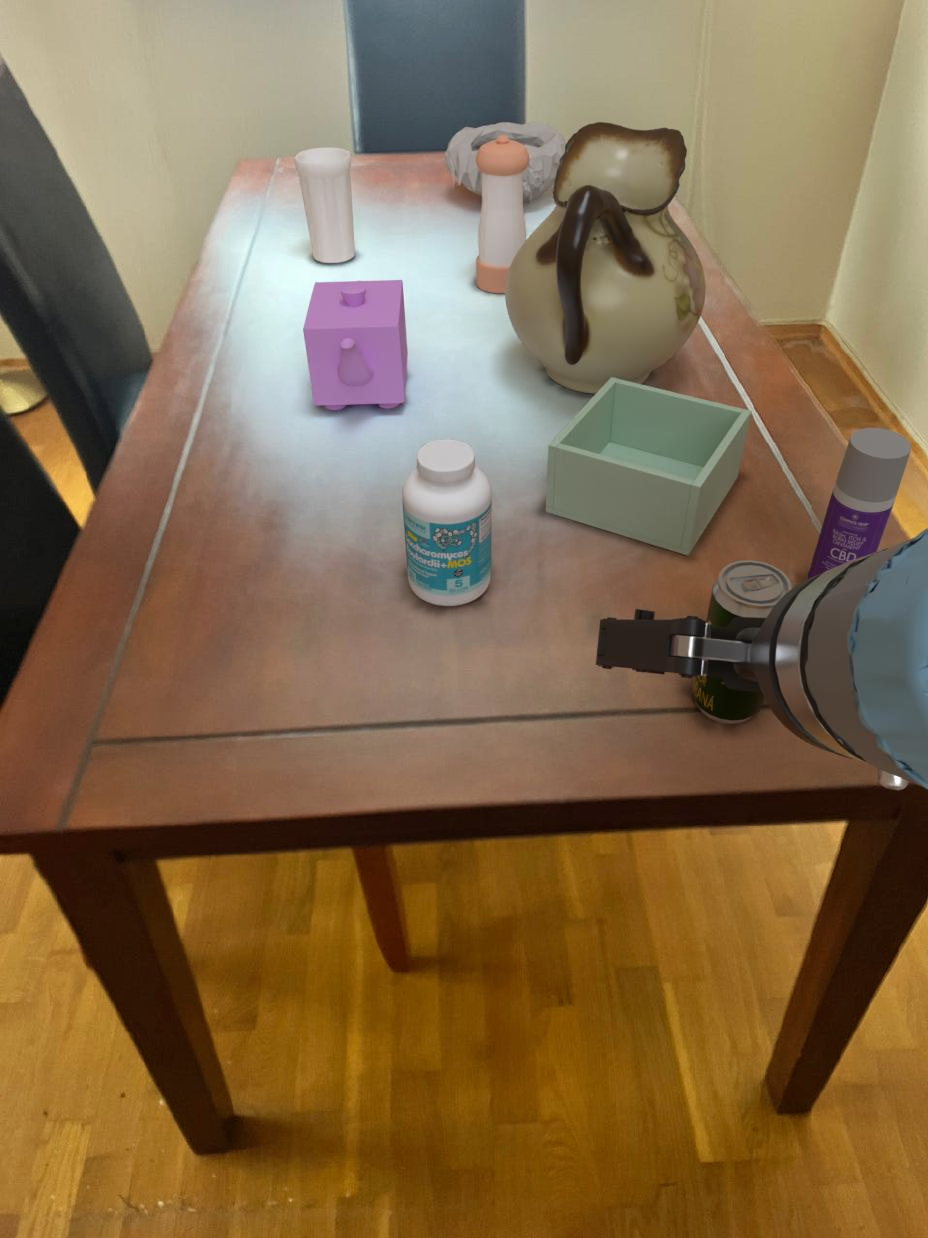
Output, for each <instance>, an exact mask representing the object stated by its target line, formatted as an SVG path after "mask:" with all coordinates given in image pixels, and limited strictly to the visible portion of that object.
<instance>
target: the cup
mask: <svg viewBox="0 0 928 1238" xmlns="http://www.w3.org/2000/svg"><path fill="white" fill-rule="evenodd" d="M293 162H294V166H295V170H296V171H297V175H298V180H299V185H300V190H301V197H302V202H303V205H304V206H303V208H304V212H305V218H306V223H307V224H306V225H307V229H308V234H309V240H310V246H311V250H312V256H313V258H314V260H316V261H318V262H320V263H326V264H336V263H337V264H338V263H342V262H343V263H344V262H347V261H349V260H352V259H353V258H354V257H355V255H356V248H355V231H354V230H355V229H354V228H355V227H354V209H353V191H352V175H351V167H352V153H351V152H350V151H348V150H347V149H344V148H341V147H333V146H331V147H329V146H328V147H327V146H326V147H314V148H307V149H305V150H302V151H299V152H298V153H297V154H295V156H294V159H293Z"/></svg>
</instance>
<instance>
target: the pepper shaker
mask: <svg viewBox="0 0 928 1238" xmlns="http://www.w3.org/2000/svg"><path fill="white" fill-rule="evenodd" d="M529 161H530V158H529V153H528V151H527V149H526V147H525V146H524V145H523V144H521V143H519V142H516V141H514V140H509V138H508V137H507V136H506V135H500V136H498V137H497V139H496V140H493V141H490V142H488V143H486V144H484V145H482V146H481V147H480V148H479V150H478V152H477V155H476V164H477V167H478V169H479V170H480V171H481V172H482V197H481V209H480V214H479V224H478V230H477V243H478V244H477V245H478V255H477V257H476V258H475V274H476V275H475V276H476V278H475V279H476V280H475V281H476V282H475V283H476V287H478V289H480V290H482V291H484V292H486V293H487V292H488V293H492V294H505V283H506V277H507V273H508V270H509V268H510V265H511V263H512V261H513V259H514V257H515V255H516V254H517V252H518V250H519V249H520V247H521V246H522V245H523V243H524V242H525V241H526V240H527V227H526V220H525V218H526V217H525V211H524V202H523V171H524V170H525V169H526V168H527V166H528V164H529Z"/></svg>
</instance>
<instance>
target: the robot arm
mask: <svg viewBox="0 0 928 1238" xmlns="http://www.w3.org/2000/svg"><path fill="white" fill-rule="evenodd" d="M655 615H656V611H653V610H647V609H640V608H635V609H634V616H633V617H634V618H633V619H626V618H625V619H622V618H621V619H619V618H618V619H617V618H616V617H609V616H607V617H606V618H601V619H599V628H598V636H597V637H598V639H597V647H596V648H597V649H596V657H595V666H597V667H598V668H599V667H600V668H601V669H605V670H612V669H614V668H623V669H631V670H632V671H635V672H636V673H644V674H645V673H648V674H656V675H666V673H671V674H678V675H679V676H680V678H684V679H694V677H697V675H698V676H710V677H719V678H722V679H723V681H724V683H725V686H726V687H727V688H728V689H731V690H740V691H748V692H757V693H762V694H763V696H764V701H765V702H766V704H767V706H768V707H769V709H770V710H771V712H772V713H773V715H774V716H775V717H776V719H777V720H778V721H779V722H780V723H781V724H782V725H783V727H785V728H786V729H787V730H788V731H789V732H790V733H792V734H793V735H795V736H796V738H799V739H800V740H802V741H803V742H805V743H807V744H809V745H811V746H812V747H813V746H814V747H816V748H818V749H821V750H823V751H826V752H829V753H831V754H834V755H837V756H839V757H844V758H847V759H850V760H856V761H859V762H861V763H865V764H867V765H870V766H872V767H875V768H876V769H877V780H878V783H879V785H880V786H882V787H883V788H885V789H888V790H894V791H901V790H904V789H905V788H907V786H908V785H909V782H910V783H912V784H914V785H918V786H919V787H922V788H924V789H926V790H927V791H928V527H927V528H925V529H924V530H922V531H921V532H919V533H918V534H917V535H916V536H914V537H912V538H910V539H908V540H905V541H903V542H900V543H898V544H895V545H893V546H890V547H888V548H884V549H881V550H877V552H875V553H872V554H869V555H866V556H863V557H860V558H857V559H855V560H852V561H849V562H847V563H844V564H842V565H840V566H837V567H835V568H832V569H830V570H828V571H825V572H824V573H821V574H818V575H816V576H813V577H811V578H809V579H807V578H806V579H805V580H803V581H801V582H800V583H798V584H797V585H795V586H794V587H792V589H791V590H790V591H789V592H787V593H786V594H785V595H784V596H783V597H782V598H781V599H780V600H779V601H778V602H777V604H776V605H775V606H774V607H773V609H772V610H771V611H770V613H769V614H768V616H767V618H756V617H735V618H734V619H732V620H731V622H730V623H729V625H728V626H727V627H713V626H712V623H709V622H706V619H703V618H701V617H700V618H699V616H695V615H687V616H686V617H678V618H672V619H655ZM756 679H757V680H756Z"/></svg>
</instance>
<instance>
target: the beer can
mask: <svg viewBox="0 0 928 1238" xmlns="http://www.w3.org/2000/svg"><path fill="white" fill-rule="evenodd" d="M792 588H793V586H792V581H791V580H790V578H789V576H788V575H787V574H785V573H784V572H783V571H782V569H779V568H778V567H776V566H775V565H773V564H770V563H767V562H764V561H761V560H752V559H744V560H736V561H734V562H730V563H728V564H727V565H726V566H724V567H722V569H721V570H720V572H719V573H718V575H717V578H716V579H715V581H714V583H713V584H712V589H711V594H710V598H709V603H708V608H707V612H706V617H705V621H706V622H709V623H712V626H713V627H727V626H728V625H729V623H730V622H731V620H732V619H734V618H735V617H756V618H767V616H768V614H769V613H770V611H771V610H772V609H773V607H774V606H775V605H776V604H777V602H778V601H779V600H780V599H781V598H782V597H783V596H784V595H785V594H786V593H787V592H789V591H790V590H791V589H792ZM692 679H693V680H692V684H691V695H692V697H693V701H694V703H695V706H696V708H697V709H698V710H699V711H700V712H701V714H703V715H704V716H706V717H707V718H708V719H710V720H712V721H714V722H718V723H720V724H726V725H736V724H737V725H738V724H742V723H744V722H747V721H749V720H751V718H753V717H754V716H755V715H756V714H757V713H758V712H759V711H760V710H761V708H762V707H763V704H764V701H765V698H764V696H763V694H762V693H757V692H748V691H740V690H731V689H728V688H727V687H726V686H725V683H724V681H723V679H722V678H719V677H710V676H698V675H697V677H693V678H692ZM756 680H757V679H756Z"/></svg>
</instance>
